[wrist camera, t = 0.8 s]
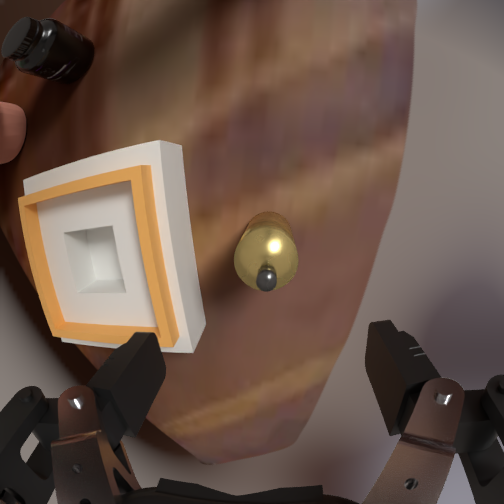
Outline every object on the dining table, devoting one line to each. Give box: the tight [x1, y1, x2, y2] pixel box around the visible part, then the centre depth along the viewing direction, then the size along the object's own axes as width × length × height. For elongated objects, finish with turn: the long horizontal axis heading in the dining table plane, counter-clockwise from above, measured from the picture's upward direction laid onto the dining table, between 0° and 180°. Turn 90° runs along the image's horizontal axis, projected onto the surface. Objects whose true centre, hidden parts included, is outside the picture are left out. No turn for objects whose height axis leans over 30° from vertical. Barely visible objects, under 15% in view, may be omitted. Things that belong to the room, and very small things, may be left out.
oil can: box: [234, 212, 298, 291], centre depth 24 cm, size 5×5×10 cm
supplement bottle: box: [2, 17, 94, 84], centre depth 19 cm, size 7×7×12 cm
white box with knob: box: [18, 140, 206, 353], centre depth 27 cm, size 23×18×8 cm
